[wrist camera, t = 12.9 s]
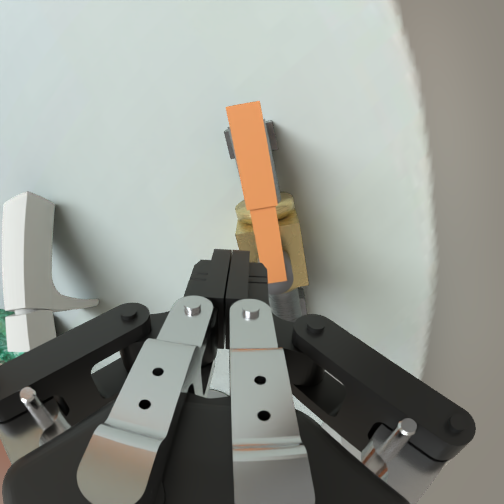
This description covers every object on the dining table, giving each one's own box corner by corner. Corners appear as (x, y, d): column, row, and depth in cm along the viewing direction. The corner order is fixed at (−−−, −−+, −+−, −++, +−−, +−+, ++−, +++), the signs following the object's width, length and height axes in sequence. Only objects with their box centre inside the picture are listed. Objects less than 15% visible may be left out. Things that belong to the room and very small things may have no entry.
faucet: (27, 189, 30) (30, 357, 26) (97, 222, 46) (108, 347, 42) (1, 204, 31) (3, 356, 27) (70, 231, 47) (79, 349, 43)
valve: (309, 307, 43) (317, 348, 36) (267, 314, 44) (268, 355, 37) (275, 114, 31) (279, 119, 24) (220, 126, 32) (209, 135, 25)
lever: (292, 274, 31) (295, 295, 27) (260, 278, 31) (260, 300, 28) (264, 99, 23) (265, 99, 20) (225, 106, 23) (220, 108, 20)
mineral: (44, 363, 53) (26, 396, 45) (-6, 314, 48) (-30, 344, 39) (77, 333, 48) (54, 373, 39) (16, 272, 42) (-16, 305, 33)
